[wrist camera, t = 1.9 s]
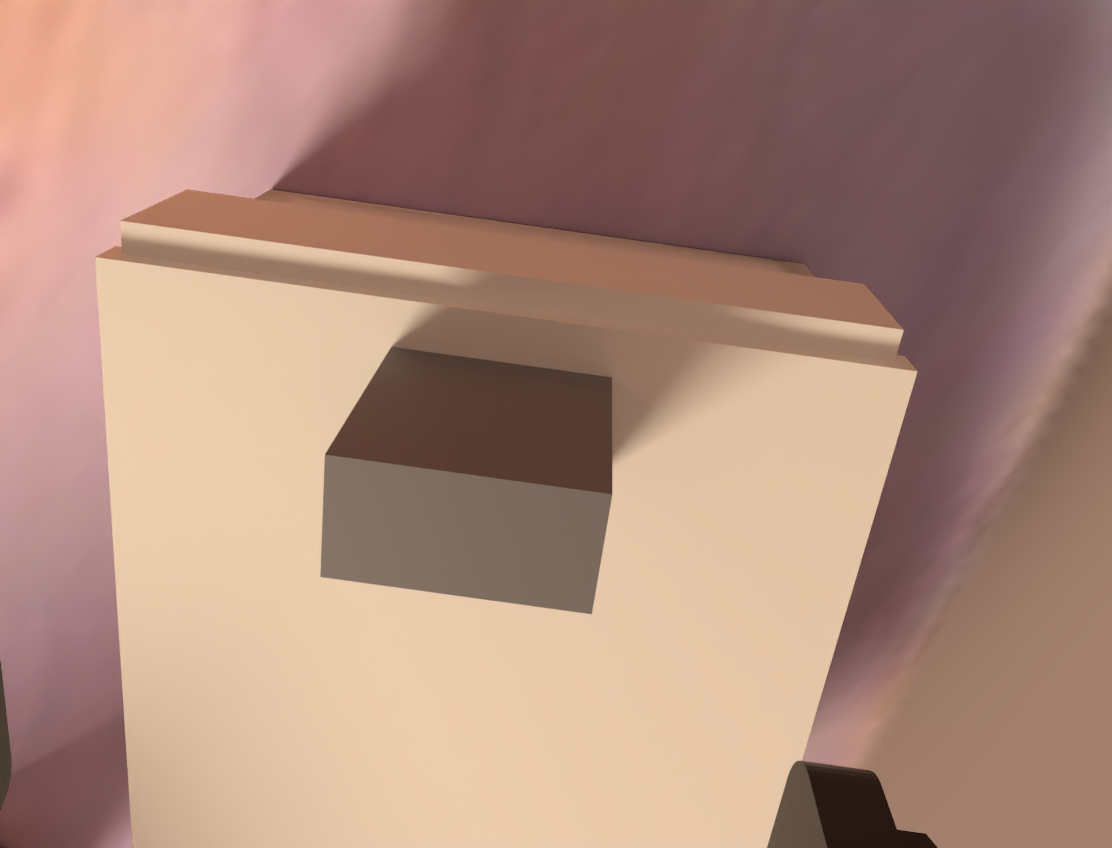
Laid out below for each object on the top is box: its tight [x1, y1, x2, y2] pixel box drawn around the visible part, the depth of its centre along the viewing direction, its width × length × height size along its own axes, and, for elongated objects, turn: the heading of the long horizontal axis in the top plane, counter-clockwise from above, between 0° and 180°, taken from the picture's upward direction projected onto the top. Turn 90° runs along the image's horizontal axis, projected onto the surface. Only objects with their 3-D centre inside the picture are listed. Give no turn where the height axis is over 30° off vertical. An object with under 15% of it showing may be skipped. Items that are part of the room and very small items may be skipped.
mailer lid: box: [95, 190, 918, 848], centre depth 20 cm, size 19×15×8 cm
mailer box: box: [255, 189, 814, 277], centre depth 26 cm, size 18×14×8 cm
